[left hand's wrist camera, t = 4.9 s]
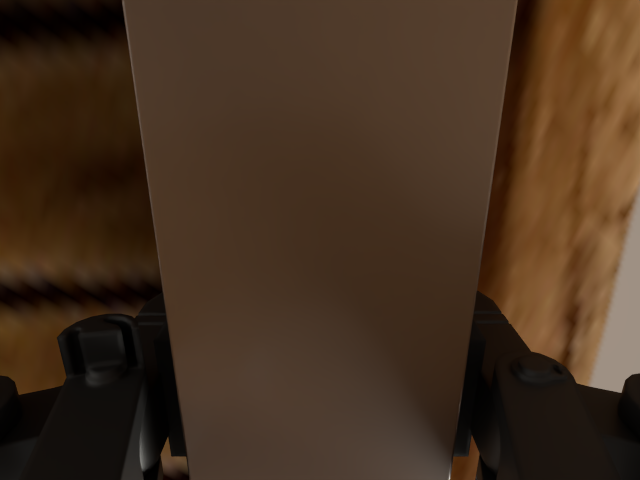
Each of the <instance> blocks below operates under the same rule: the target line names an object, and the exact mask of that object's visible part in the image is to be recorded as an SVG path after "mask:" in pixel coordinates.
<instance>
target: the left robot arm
mask: <svg viewBox="0 0 640 480" xmlns="http://www.w3.org/2000/svg"><path fill="white" fill-rule="evenodd" d="M57 340H58V344H59V348H60V352H61V356H62V360H63V364H64V368H65V372H66V376H67V378H66V380H65V382H64V384H63V386H59V387H55V388H51V389H46V390H41V391H37V392H32V393H27V394H22V395H18V391H17V388H16V385H15V382H14V381H13V380H12V379H10V378H9V377H7V376H0V480H163V468H162V461H161V456H160V454H161V452H162V449H163V447H164V445H165V442H166V440H167V437H169V444H170V450H171V456H186V451H185V443H184V436H183V429H182V422H181V415H180V408H179V401H178V394H177V387H176V380H175V373H174V366H173V359H172V351H171V344H170V337H169V330H168V323H167V316H166V309H165V302H164V295H163V292H162V293H160V294H159V295H157V296H156V297H154V298H152V299H151V300H149V301H148V302H147V303H146V304H145V305H144V307H143V308H142V309H141V311H140V312H139V315H138V316H136V317H135V319H134V318H133V317H132V316H128V315H124V314H104V315H98V316H93V317H90V318H87V319H84V320H81V321H79V322H76V323H75V324H73V325H71V326H70V327H68V328H66V329H65V330H64V331H63V332H62V333H61V334H60V335H59V336H58V337H57ZM471 435H472V436H473V438H474V441H475V443H476V445H477V448H478V450H479V453H480V456H479V461H478V467H477V473H476V479H475V480H640V374H634V375H631V376H630V377H629V378H627V379H626V380H625V383H624V387H623V390H622V393H618V392H613V391H608V390H603V389H598V388H593V387H588V386H584V385H581V384H577V383H576V381H575V379H574V377H573V376H572V374H571V373H570V372H569V371H568V369H567V368H566V367H564V366H563V365H562V364H560V363H559V362H557V361H556V360H554V359H552V358H549V357H547V356H545V355H542V354H539V353H535V352H531V351H530V349H529V348H528V347H527V345H526V344H525V343H524V341H523V340H522V339H521V337H520V336H519V335H518V333H517V332H516V331H515V329H514V328H513V327H512V325H511V324H509V323H508V320H507V319H506V317H505V316H504V315H503V314H501V311H500V309H499V308H498V307H497V305H496V304H495V303H494V301H493V300H491V299H490V298H488V297H487V296H485V295H483V294H482V293H480V292H479V291H477V292H476V299H475V306H474V313H473V320H472V327H471V335H470V342H469V349H468V356H467V363H466V370H465V377H464V384H463V391H462V398H461V405H460V413H459V420H458V427H457V434H456V441H455V448H454V455H453V456H468V454H469V448H470V442H471Z"/></svg>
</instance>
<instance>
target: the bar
mask: <svg viewBox="0 0 640 480" xmlns="http://www.w3.org/2000/svg"><path fill="white" fill-rule="evenodd" d="M517 1H518V0H122V4H123V12H124V19H125V26H126V33H127V40H128V47H129V54H130V61H131V68H132V75H133V82H134V89H135V97H136V104H137V111H138V118H139V125H140V132H141V139H142V146H143V153H144V160H145V167H146V174H147V181H148V189H149V196H150V203H151V210H152V217H153V224H154V231H155V238H156V245H157V252H158V259H159V266H160V274H161V281H162V288H163V295H164V302H165V309H166V316H167V323H168V330H169V337H170V344H171V351H172V359H173V366H174V373H175V380H176V387H177V394H178V401H179V408H180V415H181V422H182V429H183V436H184V443H185V451H186V458H187V465H188V472H189V479H190V480H450V476H451V469H452V462H453V455H454V448H455V441H456V434H457V427H458V420H459V413H460V405H461V398H462V391H463V384H464V377H465V370H466V363H467V356H468V349H469V342H470V335H471V327H472V320H473V313H474V306H475V299H476V292H477V285H478V278H479V271H480V264H481V257H482V249H483V242H484V235H485V228H486V221H487V214H488V207H489V200H490V193H491V186H492V179H493V171H494V164H495V157H496V150H497V143H498V136H499V129H500V122H501V115H502V108H503V101H504V93H505V86H506V79H507V72H508V65H509V58H510V51H511V44H512V37H513V30H514V23H515V16H516V8H517Z"/></svg>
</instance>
